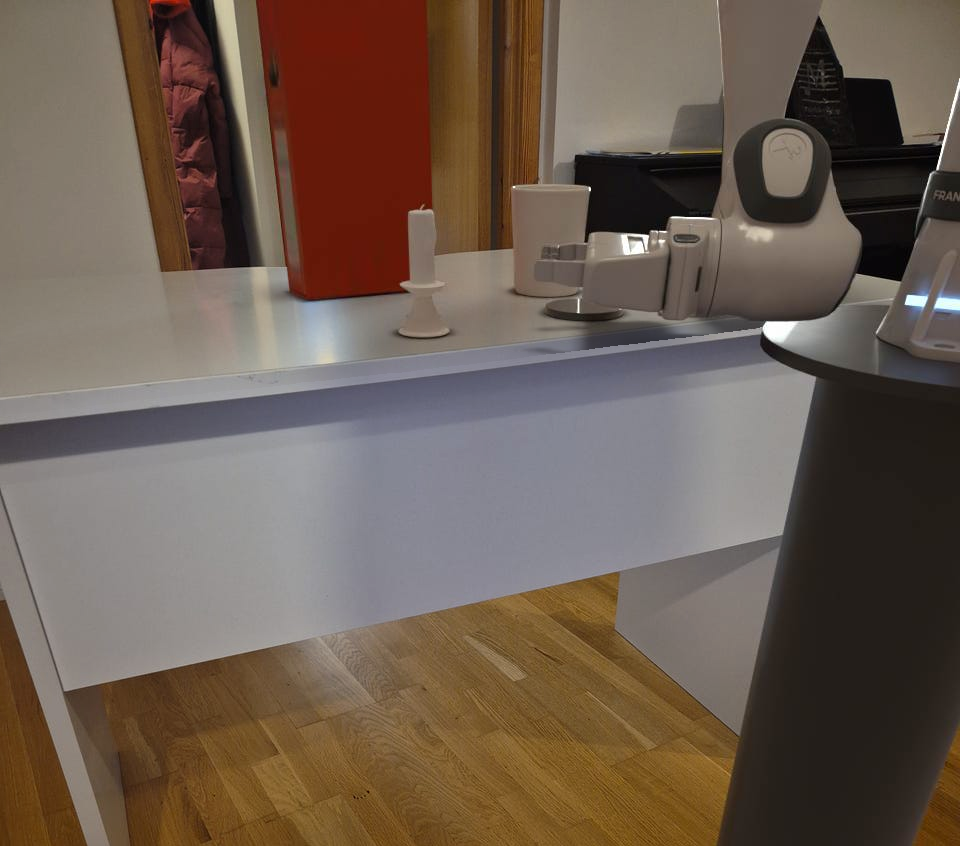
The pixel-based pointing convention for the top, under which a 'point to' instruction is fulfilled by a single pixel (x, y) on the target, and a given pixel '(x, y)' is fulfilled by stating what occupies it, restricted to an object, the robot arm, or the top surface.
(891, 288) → the top surface
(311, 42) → the file binder
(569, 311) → the slate coaster
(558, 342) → the top surface
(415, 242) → the candle
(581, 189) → the white tapered cup
